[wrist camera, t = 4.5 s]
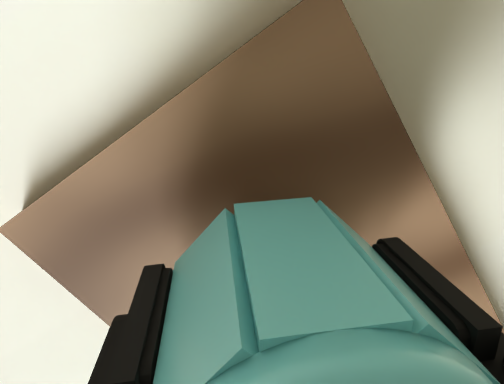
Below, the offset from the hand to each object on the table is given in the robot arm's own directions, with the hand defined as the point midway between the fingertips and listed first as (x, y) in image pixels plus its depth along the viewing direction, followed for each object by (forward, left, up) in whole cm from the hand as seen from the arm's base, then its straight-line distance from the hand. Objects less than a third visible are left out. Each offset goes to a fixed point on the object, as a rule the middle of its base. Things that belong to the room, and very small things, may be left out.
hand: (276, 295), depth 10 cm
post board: (-5, 0, -4) cm, 6 cm away
